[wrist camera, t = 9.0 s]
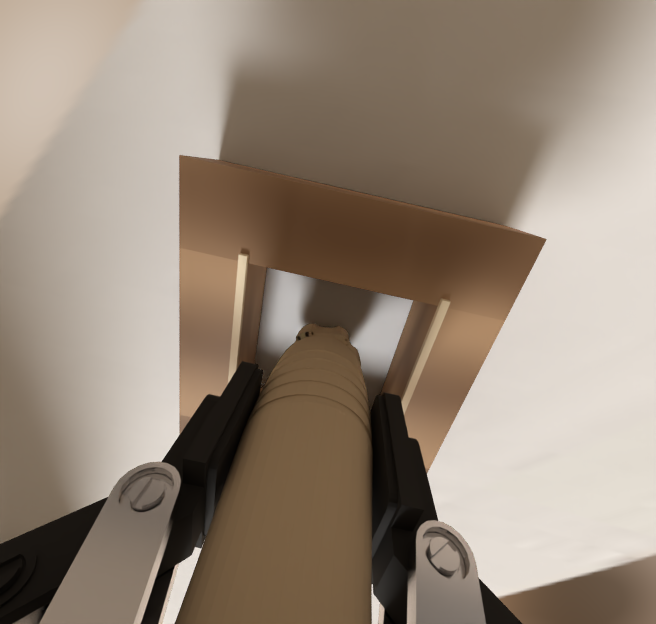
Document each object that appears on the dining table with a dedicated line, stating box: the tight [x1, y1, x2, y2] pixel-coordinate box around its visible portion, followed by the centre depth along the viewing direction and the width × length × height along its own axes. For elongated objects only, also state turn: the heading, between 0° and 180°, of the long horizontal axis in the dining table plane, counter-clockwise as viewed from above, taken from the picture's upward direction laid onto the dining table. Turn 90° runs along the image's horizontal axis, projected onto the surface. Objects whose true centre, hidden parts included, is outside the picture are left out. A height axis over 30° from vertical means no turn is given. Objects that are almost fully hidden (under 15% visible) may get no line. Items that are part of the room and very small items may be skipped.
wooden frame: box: [179, 155, 546, 473], centre depth 14 cm, size 14×12×3 cm
